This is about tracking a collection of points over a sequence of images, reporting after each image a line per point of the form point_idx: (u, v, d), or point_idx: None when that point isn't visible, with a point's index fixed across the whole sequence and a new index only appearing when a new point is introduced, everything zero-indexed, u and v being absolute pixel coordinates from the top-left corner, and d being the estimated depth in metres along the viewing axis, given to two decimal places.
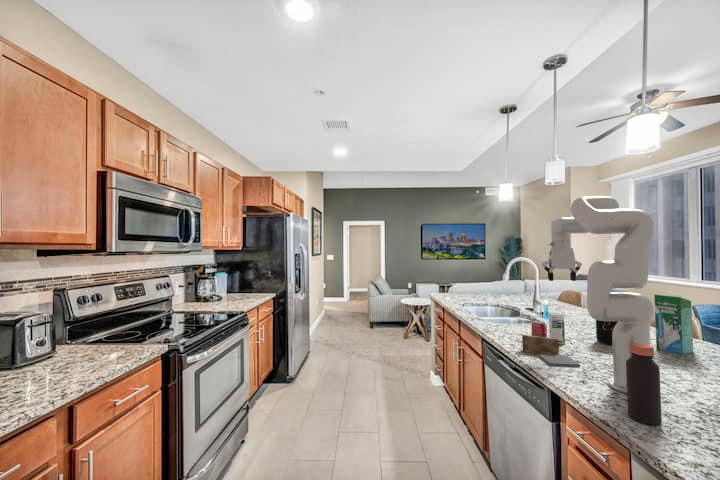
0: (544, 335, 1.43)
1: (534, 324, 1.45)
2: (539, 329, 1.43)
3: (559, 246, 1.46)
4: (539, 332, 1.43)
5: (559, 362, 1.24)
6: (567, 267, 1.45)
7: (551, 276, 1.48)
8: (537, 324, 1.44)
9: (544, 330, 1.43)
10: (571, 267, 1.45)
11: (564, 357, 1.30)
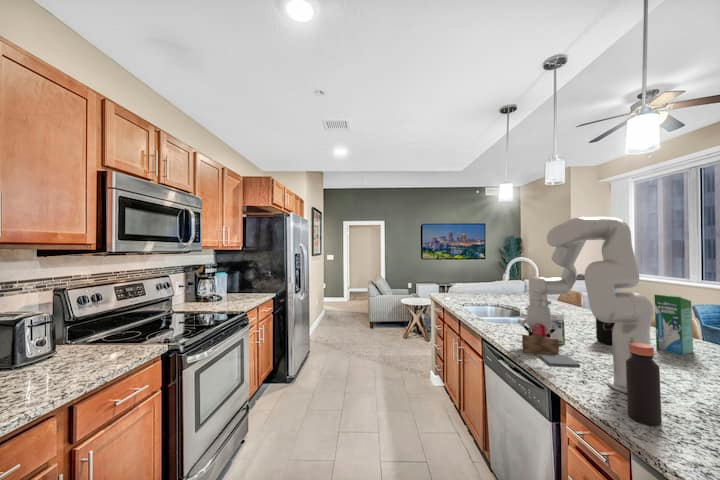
0: (544, 335, 1.43)
1: None
2: (539, 329, 1.43)
3: None
4: (539, 332, 1.43)
5: (559, 362, 1.24)
6: None
7: None
8: (537, 324, 1.44)
9: (544, 330, 1.43)
10: None
11: (564, 357, 1.30)
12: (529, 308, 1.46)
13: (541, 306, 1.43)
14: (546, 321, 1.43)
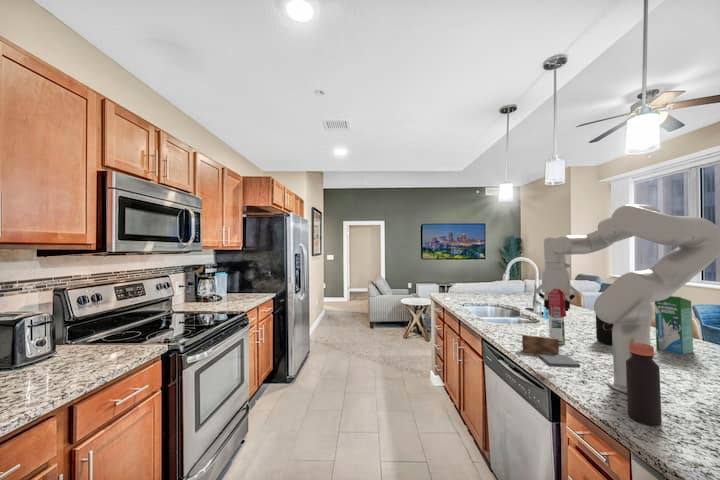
0: (562, 302, 1.26)
1: None
2: (557, 295, 1.26)
3: None
4: (556, 299, 1.26)
5: (559, 362, 1.24)
6: None
7: None
8: (554, 290, 1.27)
9: (562, 296, 1.26)
10: None
11: (564, 357, 1.30)
12: (545, 272, 1.29)
13: (559, 269, 1.26)
14: (565, 286, 1.26)
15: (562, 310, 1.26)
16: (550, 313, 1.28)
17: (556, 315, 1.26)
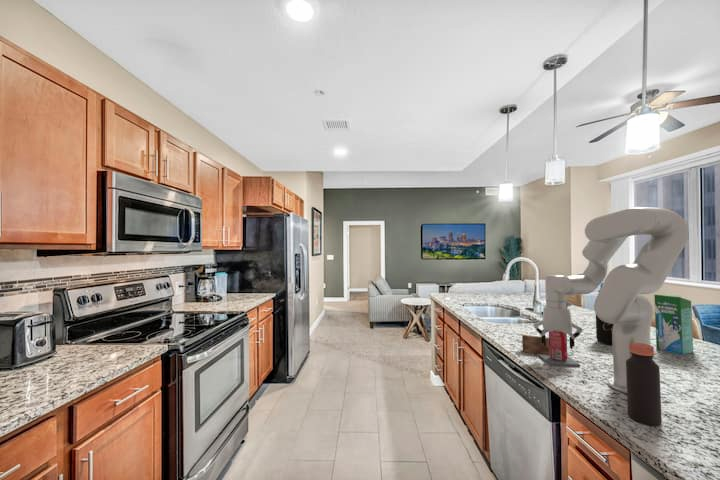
0: (564, 345, 1.25)
1: (552, 332, 1.27)
2: (559, 338, 1.25)
3: None
4: (558, 342, 1.25)
5: (559, 362, 1.24)
6: None
7: None
8: (556, 332, 1.26)
9: (564, 339, 1.25)
10: None
11: None
12: (546, 310, 1.29)
13: (560, 308, 1.25)
14: (566, 325, 1.25)
15: (564, 353, 1.25)
16: (551, 355, 1.27)
17: (557, 358, 1.25)
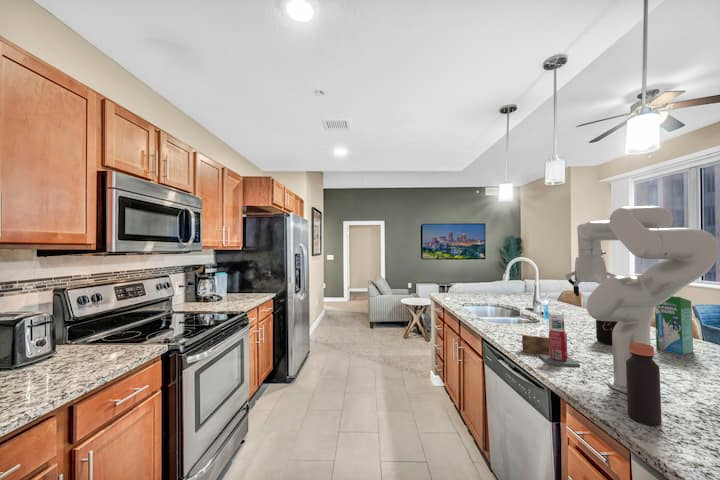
0: (564, 345, 1.25)
1: (552, 332, 1.27)
2: (559, 338, 1.25)
3: None
4: (558, 342, 1.25)
5: (559, 362, 1.24)
6: None
7: None
8: (556, 332, 1.26)
9: (564, 339, 1.25)
10: None
11: None
12: (579, 260, 1.25)
13: (595, 256, 1.22)
14: (601, 273, 1.22)
15: (564, 353, 1.25)
16: (551, 355, 1.27)
17: (557, 358, 1.25)
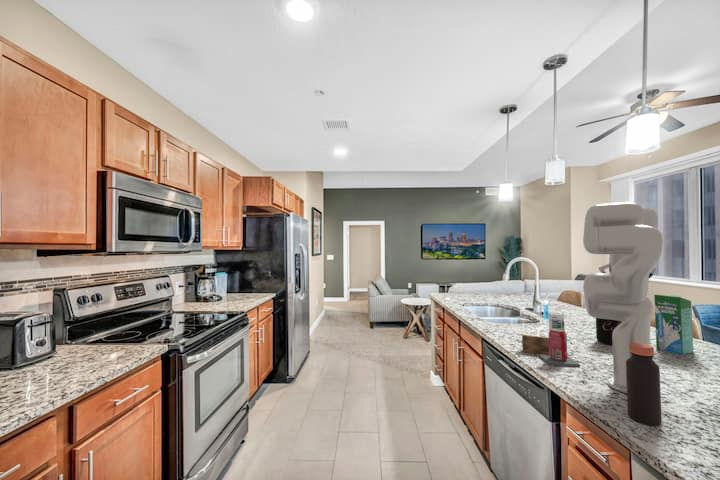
0: (564, 345, 1.25)
1: (552, 332, 1.27)
2: (559, 338, 1.25)
3: None
4: (558, 342, 1.25)
5: (559, 362, 1.24)
6: None
7: None
8: (556, 332, 1.26)
9: (564, 339, 1.25)
10: None
11: None
12: None
13: None
14: None
15: (564, 353, 1.25)
16: (551, 355, 1.27)
17: (557, 358, 1.25)
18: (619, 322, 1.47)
